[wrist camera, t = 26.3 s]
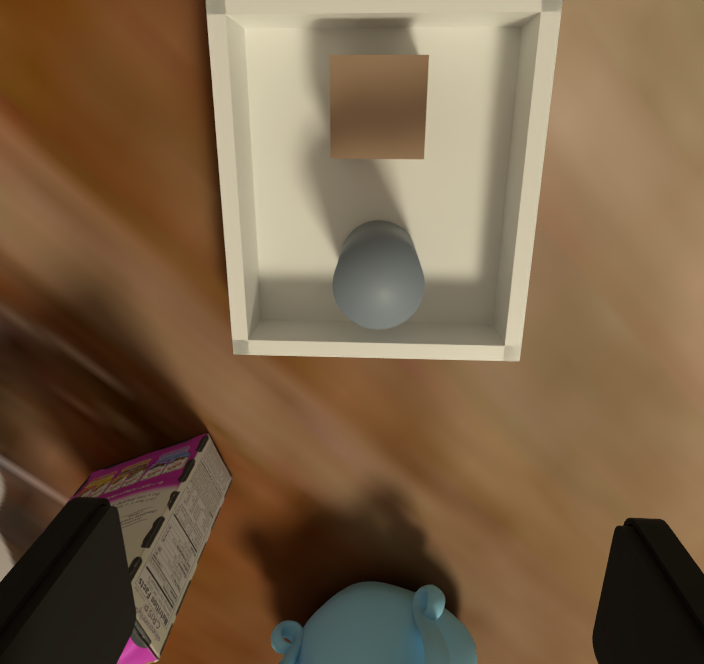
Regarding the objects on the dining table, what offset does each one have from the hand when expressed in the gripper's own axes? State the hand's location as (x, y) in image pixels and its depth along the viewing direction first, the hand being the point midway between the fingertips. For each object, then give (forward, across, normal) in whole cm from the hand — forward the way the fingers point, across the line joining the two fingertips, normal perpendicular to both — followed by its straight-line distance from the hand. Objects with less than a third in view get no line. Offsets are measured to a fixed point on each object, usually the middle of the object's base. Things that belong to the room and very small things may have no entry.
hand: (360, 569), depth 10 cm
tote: (+28, 0, -4) cm, 29 cm away
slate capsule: (+27, 0, 0) cm, 27 cm away
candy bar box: (+28, +17, +18) cm, 38 cm away
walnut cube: (+27, 0, -9) cm, 29 cm away
